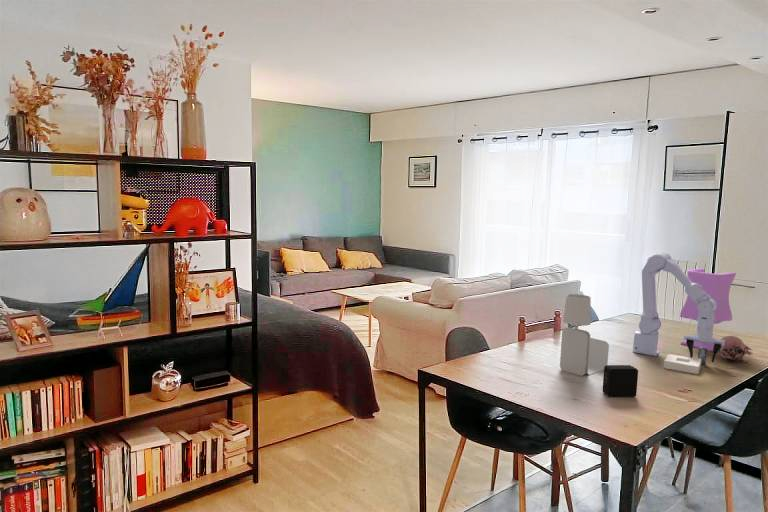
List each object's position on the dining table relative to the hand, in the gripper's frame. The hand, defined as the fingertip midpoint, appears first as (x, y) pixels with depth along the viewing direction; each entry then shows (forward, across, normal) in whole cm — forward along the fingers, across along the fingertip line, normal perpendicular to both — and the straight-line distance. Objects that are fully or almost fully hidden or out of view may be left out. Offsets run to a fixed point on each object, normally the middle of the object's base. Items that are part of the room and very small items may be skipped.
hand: (702, 359), depth 224 cm
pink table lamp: (+2, -2, +34) cm, 34 cm away
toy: (+2, +11, +14) cm, 18 cm away
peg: (+2, 0, 0) cm, 2 cm away
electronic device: (+2, -20, -60) cm, 63 cm away
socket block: (+2, -6, -10) cm, 12 cm away
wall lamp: (+2, -38, -40) cm, 55 cm away
